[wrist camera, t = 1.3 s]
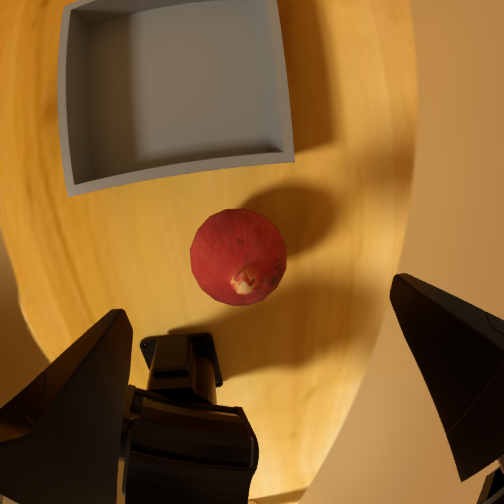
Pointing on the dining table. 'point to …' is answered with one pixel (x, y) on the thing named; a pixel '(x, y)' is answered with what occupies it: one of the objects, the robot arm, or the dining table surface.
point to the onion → (238, 257)
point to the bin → (170, 89)
